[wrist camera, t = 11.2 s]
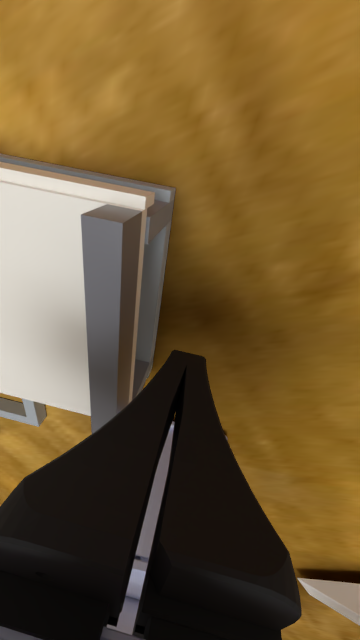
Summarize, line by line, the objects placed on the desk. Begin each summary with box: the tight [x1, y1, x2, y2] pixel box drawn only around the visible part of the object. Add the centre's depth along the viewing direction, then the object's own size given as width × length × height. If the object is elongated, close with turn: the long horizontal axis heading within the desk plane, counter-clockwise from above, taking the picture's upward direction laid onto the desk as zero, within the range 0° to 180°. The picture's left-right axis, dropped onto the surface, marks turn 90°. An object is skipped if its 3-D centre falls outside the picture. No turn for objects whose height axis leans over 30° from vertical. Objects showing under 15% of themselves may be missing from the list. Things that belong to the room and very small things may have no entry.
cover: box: [0, 162, 155, 434], centre depth 12 cm, size 12×10×3 cm
